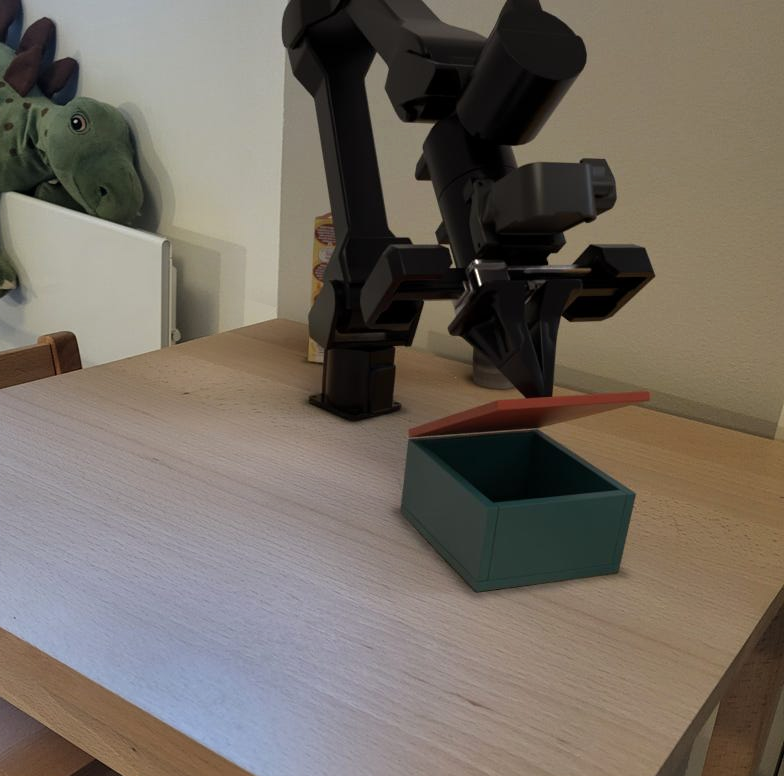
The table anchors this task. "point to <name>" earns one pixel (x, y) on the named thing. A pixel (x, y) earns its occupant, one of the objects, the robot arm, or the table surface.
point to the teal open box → (515, 508)
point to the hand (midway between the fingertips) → (543, 402)
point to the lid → (527, 413)
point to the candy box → (320, 269)
